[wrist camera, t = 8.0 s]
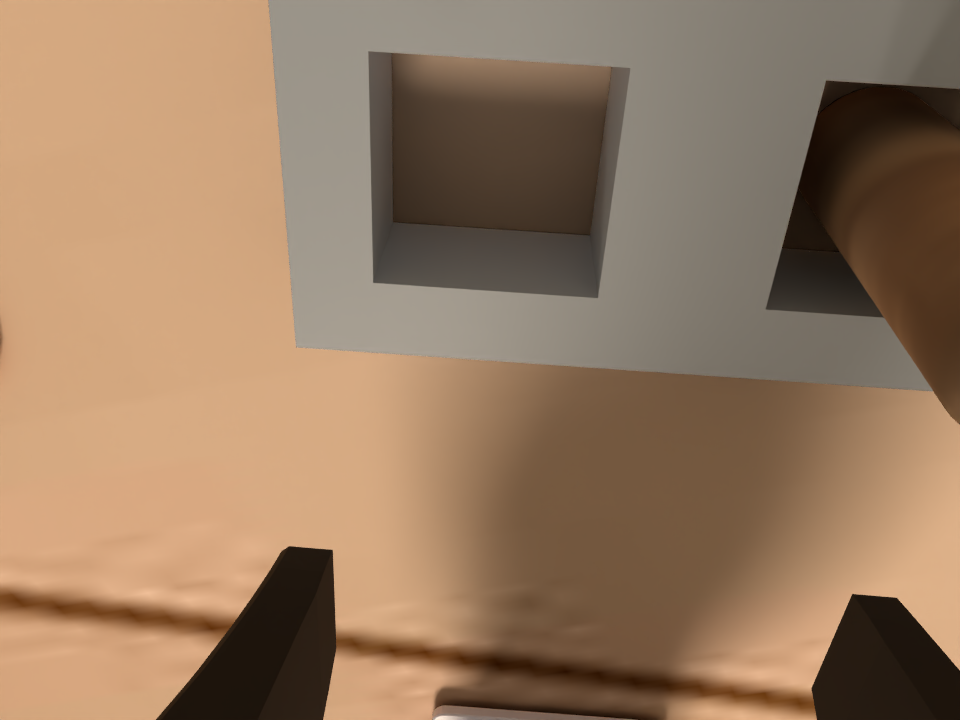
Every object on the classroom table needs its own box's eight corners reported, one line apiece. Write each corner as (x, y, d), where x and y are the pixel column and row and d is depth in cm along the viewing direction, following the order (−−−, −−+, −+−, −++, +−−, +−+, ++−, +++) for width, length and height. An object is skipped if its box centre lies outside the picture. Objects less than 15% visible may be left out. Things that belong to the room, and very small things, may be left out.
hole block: (983, 326, 21) (1044, 399, 18) (324, 281, 21) (296, 347, 19) (1136, -33, 17) (1243, -1, 14) (303, -84, 17) (263, -61, 14)
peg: (906, 228, 20) (1099, 452, 13) (776, 210, 20) (903, 427, 13) (962, 97, 18) (1216, 276, 11) (821, 77, 18) (993, 246, 11)
